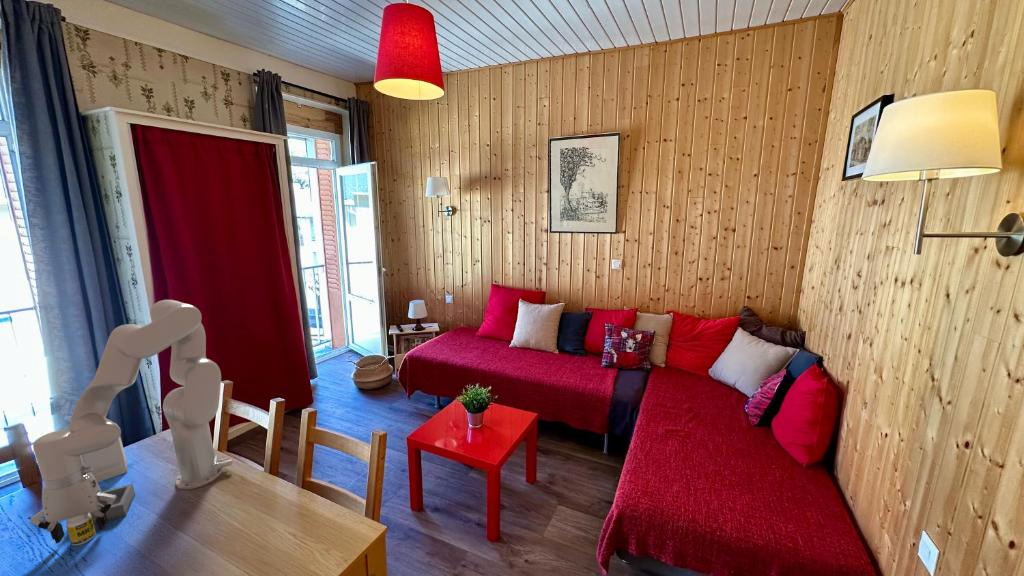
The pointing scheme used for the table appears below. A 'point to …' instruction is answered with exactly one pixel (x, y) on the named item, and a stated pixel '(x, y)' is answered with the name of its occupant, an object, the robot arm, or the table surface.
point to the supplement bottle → (80, 529)
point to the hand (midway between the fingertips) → (81, 532)
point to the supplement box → (107, 461)
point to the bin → (118, 502)
